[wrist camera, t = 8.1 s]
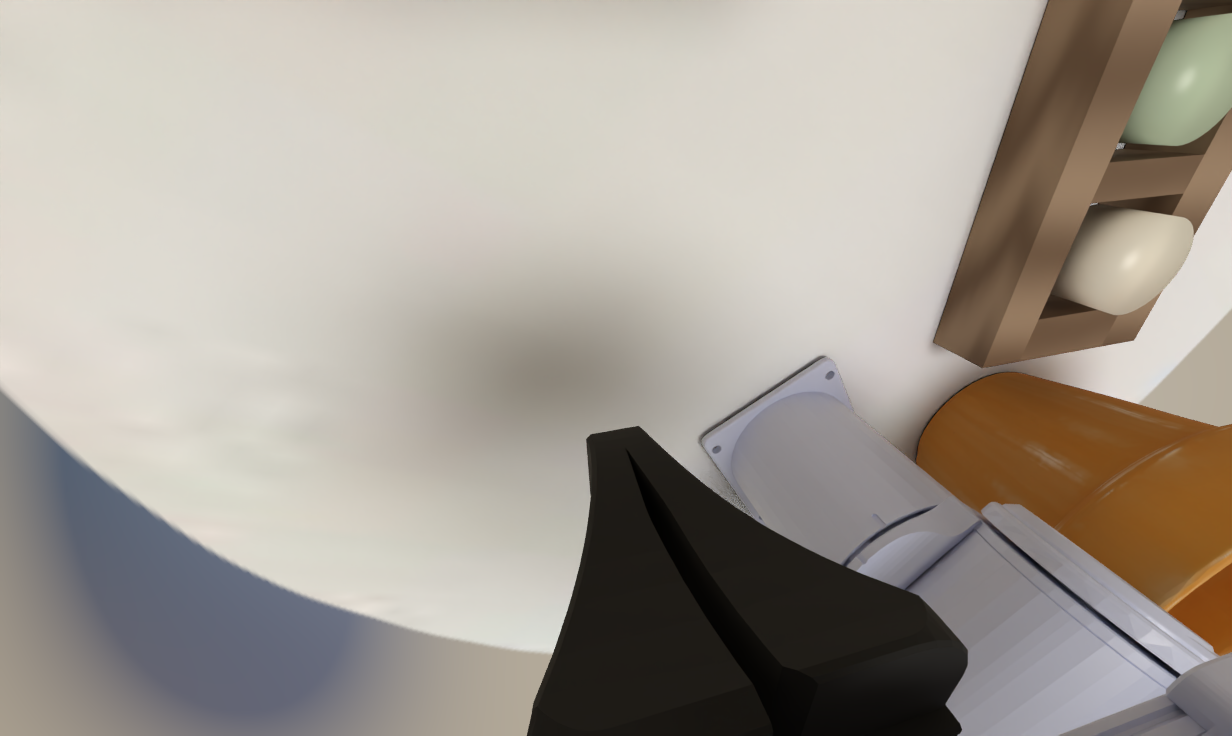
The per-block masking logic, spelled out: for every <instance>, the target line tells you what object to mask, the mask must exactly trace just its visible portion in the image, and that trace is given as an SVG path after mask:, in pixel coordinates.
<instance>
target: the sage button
mask: <svg viewBox="0 0 1232 736" xmlns="http://www.w3.org/2000/svg"><path fill="white" fill-rule="evenodd" d="M1231 108H1232V13H1228V14H1220V15H1212V16H1204V17H1196V18H1188V19H1179V20H1173V22H1172V24H1171V27H1170V29H1169V31H1168V33H1167V36H1166V38H1165V40H1164V42H1163V44H1162V47H1161V49H1160V51H1159V53H1158V56H1157V58H1156V60H1155V62H1154V64H1153V67H1152V69H1151V71H1150V73H1149V75H1148V78H1147V80H1146V82H1145V84H1144V87H1143V89H1142V91H1141V93H1140V95H1139V98H1138V100H1137V102H1136V104H1135V107H1134V109H1133V111H1132V113H1131V115H1130V118H1129V120H1128V122H1127V124H1126V126H1125V129H1124V131H1123V133H1122V135H1121V138H1120V140H1119V142H1118V143H1132V144H1149V145H1166V146H1180V145H1184V144H1187V143H1190V142H1192V141H1194V140H1196V139H1197V138H1199V137H1201V136H1202V135H1203V134H1205V133H1206V132H1208V131H1209V130H1210V129H1211V128H1212V127H1214V126H1215V125H1216V124H1217V123H1218V122H1219V121H1220V120H1221V119H1222V118H1223V117H1224V116H1225V115H1226V114H1227V112H1228V111H1229V110H1230V109H1231Z"/></svg>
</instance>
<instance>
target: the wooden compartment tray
mask: <svg viewBox="0 0 1232 736" xmlns="http://www.w3.org/2000/svg"><path fill="white" fill-rule="evenodd" d="M1178 10H1188V11H1187V13H1186V15H1185V17H1184V19H1188V18H1196V17H1204V16H1212V15H1220V14H1228V13H1232V0H1049V2H1048V5H1047V8H1046V11H1045V14H1044V17H1043V20H1042V23H1041V26H1040V29H1039V32H1038V35H1037V38H1036V41H1035V44H1034V47H1033V49H1032V52H1031V55H1030V58H1029V61H1028V64H1027V67H1026V70H1025V73H1024V76H1023V79H1022V82H1021V85H1020V88H1019V91H1018V94H1017V97H1016V100H1015V103H1014V106H1013V109H1012V112H1011V114H1010V117H1009V120H1008V123H1007V126H1006V129H1005V132H1004V135H1003V138H1002V141H1001V144H1000V147H999V150H998V153H997V156H996V159H995V162H994V165H993V168H992V171H991V174H990V177H989V179H988V182H987V185H986V188H985V191H984V194H983V197H982V200H981V203H980V206H979V209H978V212H977V215H976V218H975V221H974V224H973V227H972V230H971V233H970V236H969V239H968V242H967V245H966V247H965V250H964V253H963V256H962V259H961V262H960V265H959V268H958V271H957V274H956V277H955V280H954V283H953V286H952V289H951V292H950V295H949V298H948V301H947V304H946V307H945V310H944V312H943V315H942V318H941V321H940V324H939V327H938V330H937V333H936V336H935V339H934V343H936V344H938V345H939V346H941V347H943V348H945V349H947V350H949V351H951V352H953V353H955V354H957V355H958V356H960V357H962V358H964V359H966V360H968V361H970V362H972V363H974V364H976V365H978V366H979V367H981V368H986V367H992V366H997V365H1003V364H1008V363H1013V362H1019V361H1024V360H1030V359H1035V358H1041V357H1046V356H1051V355H1057V354H1062V353H1068V352H1073V351H1079V350H1084V349H1089V348H1095V347H1100V346H1106V345H1111V344H1117V343H1122V342H1128V341H1133V340H1134V339H1135V338H1136V336H1137V334H1138V332H1139V331H1140V329H1141V327H1142V325H1143V324H1144V322H1145V320H1146V318H1147V317H1148V315H1149V313H1150V311H1151V310H1152V308H1153V306H1154V304H1155V303H1156V301H1157V299H1158V298H1159V296H1160V294H1161V292H1162V291H1163V290H1162V291H1161V292H1160V293H1159V294H1158V295H1157V296H1156V297H1155V298H1153V299H1152V300H1151V301H1149V302H1148V303H1147V304H1145V305H1144V306H1142V307H1140V308H1138V309H1137V310H1135V311H1132V312H1130V313H1127V314H1123V315H1112V314H1109V313H1106V312H1103V311H1100V310H1097V309H1094V308H1091V307H1088V306H1085V305H1082V304H1079V303H1076V302H1073V301H1070V300H1067V299H1064V298H1061V297H1058V296H1055V295H1052V294H1050V293H1051V291H1052V288H1053V286H1054V284H1055V282H1056V280H1057V277H1058V275H1059V273H1060V271H1061V268H1062V266H1063V264H1064V262H1065V260H1066V257H1067V255H1068V253H1069V251H1070V248H1071V246H1072V244H1073V242H1074V240H1075V237H1076V235H1077V233H1078V231H1079V229H1080V226H1081V224H1082V222H1083V220H1084V217H1085V215H1086V213H1087V211H1088V209H1089V206H1090V204H1091V203H1098V202H1099V204H1103V205H1110V206H1116V207H1122V208H1128V209H1135V210H1141V211H1147V212H1153V213H1160V214H1166V215H1172V216H1178V217H1184V218H1186V219H1188V220H1189V221H1190V222H1191V224H1192V226H1193V230H1194V235H1195V233H1196V231H1197V230H1198V228H1199V226H1200V224H1201V223H1202V221H1203V219H1204V217H1205V216H1206V214H1207V212H1208V211H1209V209H1210V207H1211V205H1212V204H1213V202H1214V200H1215V198H1216V197H1217V195H1218V193H1219V191H1220V190H1221V188H1222V186H1223V184H1224V183H1225V181H1226V179H1227V177H1228V176H1229V174H1230V172H1231V171H1232V108H1231V109H1230V110H1229V111H1228V112H1227V114H1226V115H1225V116H1224V117H1223V118H1222V119H1221V120H1220V121H1219V122H1218V123H1217V124H1216V125H1215V126H1214V127H1212V128H1211V129H1210V130H1209V131H1208V132H1206V133H1205V134H1203V135H1202V136H1201V137H1199V138H1197V139H1196V140H1194V141H1192V142H1190V143H1187V144H1184V145H1180V146H1166V145H1149V144H1132V143H1127V144H1126V146H1125V148H1124V149H1117V150H1115V149H1116V146H1117V144H1118V142H1119V140H1120V138H1121V135H1122V133H1123V131H1124V129H1125V126H1126V124H1127V122H1128V120H1129V118H1130V115H1131V113H1132V111H1133V109H1134V107H1135V104H1136V102H1137V100H1138V98H1139V95H1140V93H1141V91H1142V89H1143V87H1144V84H1145V82H1146V80H1147V78H1148V75H1149V73H1150V71H1151V69H1152V67H1153V64H1154V62H1155V60H1156V58H1157V56H1158V53H1159V51H1160V49H1161V47H1162V44H1163V42H1164V40H1165V38H1166V36H1167V33H1168V31H1169V29H1170V27H1171V24H1172V22H1173V20H1174V18H1175V16H1176V13H1177V11H1178ZM1193 237H1194V236H1193Z"/></svg>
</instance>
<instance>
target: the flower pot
mask: <svg viewBox="0 0 1232 736" xmlns="http://www.w3.org/2000/svg"><path fill="white" fill-rule="evenodd" d="M916 464H917V465H918V466H919V467H920V468H921V469H923V470H924V471H925V472H926V473H927V474H929V475H930V476H931V477H932V478H933V479H935V480H936V481H937V482H938V483H940V484H941V485H942V486H943V487H944V488H946V489H947V490H948V491H949V492H950V493H952V494H953V495H954V496H955V497H956V498H958V499H959V500H960V501H961V502H963V503H964V504H966V505H967V506H969V507H971V508H972V509H974V510H975V511H977V512H979V513H980V514H982V512H981V510H982V509H983V508H984V507H985V506H986V505H988V504H989V503H990V502H997V503H999V504H1001V505H1003V504H1020V505H1022V506H1023V507H1025V508H1026V509H1027V510H1029V511H1030V512H1032V513H1033V514H1034V515H1036V516H1037V517H1039V518H1040V519H1041V520H1043V521H1044V522H1045V523H1047V524H1048V525H1050V526H1051V527H1052V528H1054V529H1055V530H1056V531H1058V532H1059V533H1061V534H1062V535H1063V536H1065V537H1066V538H1067V539H1069V540H1070V541H1071V542H1073V543H1074V544H1076V545H1077V546H1078V547H1080V548H1081V549H1082V550H1084V551H1085V552H1086V553H1088V554H1089V555H1091V556H1092V557H1093V558H1095V559H1096V560H1097V561H1099V562H1100V563H1101V564H1103V565H1104V566H1106V567H1107V568H1108V569H1110V570H1111V571H1112V572H1114V573H1115V574H1116V575H1118V576H1119V577H1120V578H1122V579H1123V580H1124V581H1126V582H1127V583H1129V584H1130V585H1131V586H1133V587H1134V588H1135V589H1137V590H1138V591H1139V592H1141V593H1142V594H1143V595H1145V596H1146V597H1147V598H1149V599H1150V600H1152V601H1153V602H1154V603H1156V604H1157V605H1158V606H1160V607H1161V608H1162V609H1164V610H1165V611H1166V612H1168V613H1169V614H1170V615H1172V616H1173V617H1174V618H1176V619H1177V620H1178V621H1180V622H1181V623H1182V624H1184V625H1185V626H1186V627H1188V628H1189V629H1190V630H1192V631H1193V632H1194V633H1196V634H1197V635H1198V636H1200V637H1201V638H1202V639H1204V640H1205V641H1206V642H1208V643H1209V644H1210V645H1211V646H1212V647H1213V650H1214V652H1215V653H1216V654H1217V655H1219V656H1223V655H1226V654H1228V653H1231V652H1232V424H1230V425H1226V426H1221V427H1217V426H1213V425H1210V424H1206V423H1202V422H1198V421H1195V420H1191V419H1187V418H1184V417H1180V416H1177V415H1173V414H1169V413H1166V412H1163V411H1159V410H1156V409H1153V408H1149V407H1146V406H1142V405H1139V404H1135V403H1131V402H1128V401H1124V400H1121V399H1117V398H1114V397H1110V396H1106V395H1103V394H1099V393H1095V392H1091V391H1088V390H1084V389H1080V388H1076V387H1072V386H1068V385H1065V384H1061V383H1057V382H1053V381H1049V380H1045V379H1042V378H1038V377H1034V376H1030V375H1026V374H1022V373H1017V372H1006V373H998V374H994V375H991V376H988V377H985V378H983V379H980V380H978V381H976V382H974V383H972V384H971V385H969V386H967V387H966V388H964V389H963V390H961V391H960V392H959V393H957V394H956V395H955V396H953V397H952V398H951V399H950V400H949V401H948V402H947V403H946V404H945V405H944V406H942V408H941V409H940V410H939V411H938V412H937V413H936V414H935V415H934V417H933V418H932V419H931V421H930V422H929V424H928V425H927V427H926V428H925V430H924V432H923V434H922V436H921V438H920V441H919V445H918V454H917V458H916ZM982 515H983V514H982ZM983 516H984V515H983Z"/></svg>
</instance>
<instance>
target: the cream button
mask: <svg viewBox="0 0 1232 736" xmlns="http://www.w3.org/2000/svg"><path fill="white" fill-rule="evenodd" d="M1193 236H1194V230H1193V226H1192V224H1191V222H1190V221H1189V220H1188V219H1186V218H1184V217H1178V216H1172V215H1166V214H1160V213H1153V212H1147V211H1141V210H1135V209H1128V208H1122V207H1116V206H1110V205H1103V204H1097V205H1092V206H1089V209H1088V211H1087V213H1086V215H1085V217H1084V220H1083V222H1082V224H1081V226H1080V229H1079V231H1078V233H1077V235H1076V237H1075V240H1074V242H1073V244H1072V246H1071V248H1070V251H1069V253H1068V255H1067V257H1066V260H1065V262H1064V264H1063V266H1062V268H1061V271H1060V273H1059V275H1058V277H1057V280H1056V282H1055V284H1054V286H1053V288H1052V291H1051V293H1050V294H1052V295H1055V296H1058V297H1061V298H1064V299H1067V300H1070V301H1073V302H1076V303H1079V304H1082V305H1085V306H1088V307H1091V308H1094V309H1097V310H1100V311H1103V312H1106V313H1109V314H1112V315H1123V314H1127V313H1130V312H1132V311H1135V310H1137V309H1138V308H1140V307H1142V306H1144V305H1145V304H1147V303H1148V302H1149V301H1151V300H1152V299H1153V298H1155V297H1156V296H1157V295H1158V294H1159V293H1160V292H1161V291H1162V290H1163V289H1164V288H1165V287H1166V286H1167V285H1168V284H1169V283H1170V282H1171V280H1172V279H1173V278H1174V277H1175V276H1176V274H1177V273H1178V271H1179V270H1180V268H1181V267H1182V265H1183V264H1184V262H1185V260H1186V258H1187V256H1188V254H1189V252H1190V249H1191V246H1192V242H1193Z"/></svg>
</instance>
